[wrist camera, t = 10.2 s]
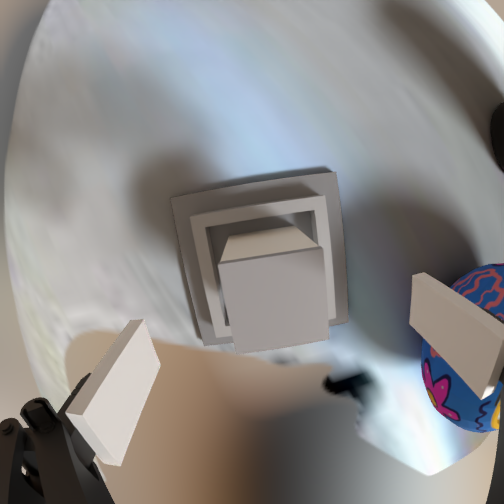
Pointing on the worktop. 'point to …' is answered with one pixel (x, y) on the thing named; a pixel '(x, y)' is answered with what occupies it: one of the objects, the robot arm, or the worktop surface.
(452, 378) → the ceramic pot
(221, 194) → the socket plate
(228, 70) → the worktop surface
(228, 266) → the plug block
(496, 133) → the coffee jar
